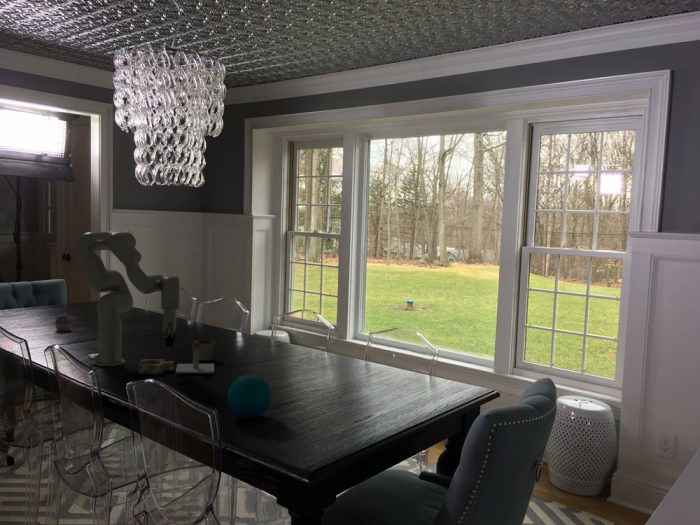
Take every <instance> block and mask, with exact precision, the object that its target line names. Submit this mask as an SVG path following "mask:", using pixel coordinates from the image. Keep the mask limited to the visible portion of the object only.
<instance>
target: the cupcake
mask: <svg viewBox="0 0 700 525" xmlns="http://www.w3.org/2000/svg"><path fill="white" fill-rule="evenodd" d="M54 324H55V327H56V330H57V332H59V331H60V333H63V332H69V331H70V330H71V327H72V325H73V321H72V319H71V317H70V316H69V315H68V314H66V313H64V312H62V314H61V315H59V316H58V317H56V319H55V321H54Z"/></svg>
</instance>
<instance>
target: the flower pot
mask: <svg viewBox="0 0 700 525" xmlns="http://www.w3.org/2000/svg"><path fill="white" fill-rule="evenodd" d="M197 341H198V342H199V343H200V348H199V360H210V359H211V360H212V357H213V356H212V355H213V348H214V347H215V346H214V344H215V343H216V341H214V340H212V339H198V340H197ZM211 360H210V361H211Z"/></svg>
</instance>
